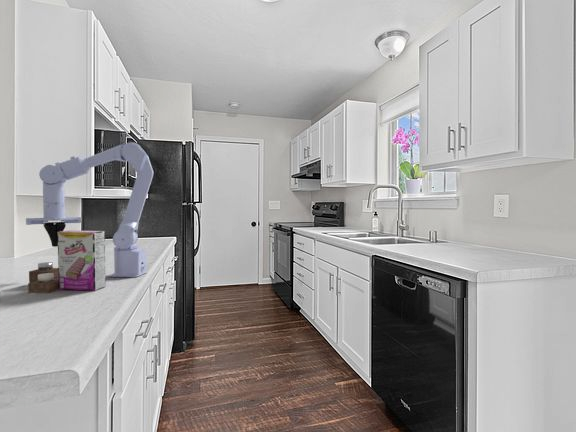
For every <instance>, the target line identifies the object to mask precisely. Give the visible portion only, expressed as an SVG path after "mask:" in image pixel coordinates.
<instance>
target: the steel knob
mask: <svg viewBox="0 0 576 432" xmlns="http://www.w3.org/2000/svg"><path fill="white" fill-rule="evenodd" d="M50 268H54V263H53V262H51V261H47V262H39V263H37V269H42V270H49V269H50Z"/></svg>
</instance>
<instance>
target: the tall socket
mask: <svg viewBox="0 0 576 432" xmlns="http://www.w3.org/2000/svg"><path fill="white" fill-rule="evenodd" d="M44 273H54V279H59V274H58V267H53V268H50V269H49V270H42V269H38V268H37V269H33V270H29V271H28V282H29V283H32V282H35V281H38V275H39V274H44Z"/></svg>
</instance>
